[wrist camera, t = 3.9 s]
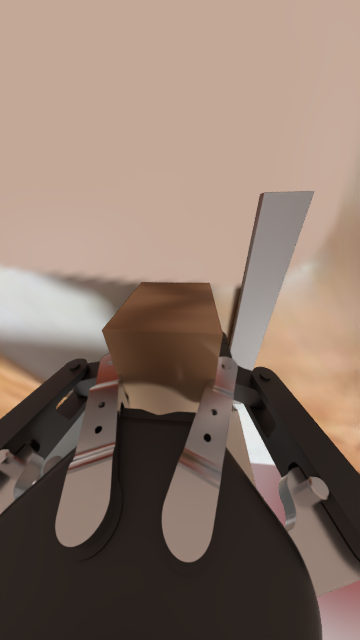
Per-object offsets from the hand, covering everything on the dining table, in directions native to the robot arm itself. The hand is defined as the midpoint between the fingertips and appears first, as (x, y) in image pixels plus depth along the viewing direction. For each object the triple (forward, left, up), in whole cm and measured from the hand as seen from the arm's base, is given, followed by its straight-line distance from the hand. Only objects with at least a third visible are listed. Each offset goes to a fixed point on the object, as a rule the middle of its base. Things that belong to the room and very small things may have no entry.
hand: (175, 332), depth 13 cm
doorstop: (0, 0, -1) cm, 1 cm away
